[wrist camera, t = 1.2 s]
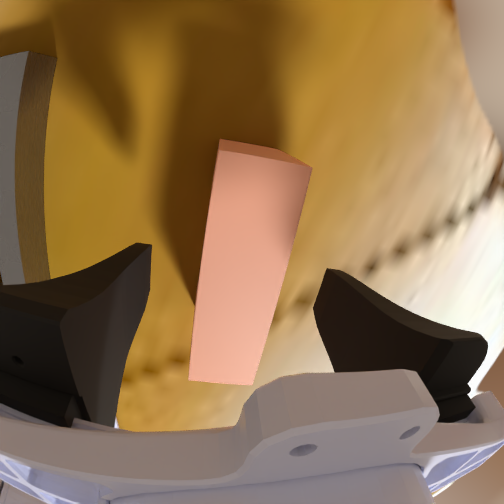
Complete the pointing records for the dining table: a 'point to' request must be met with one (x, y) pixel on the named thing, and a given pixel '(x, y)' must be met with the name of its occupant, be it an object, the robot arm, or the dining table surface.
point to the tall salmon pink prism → (244, 258)
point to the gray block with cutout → (23, 165)
